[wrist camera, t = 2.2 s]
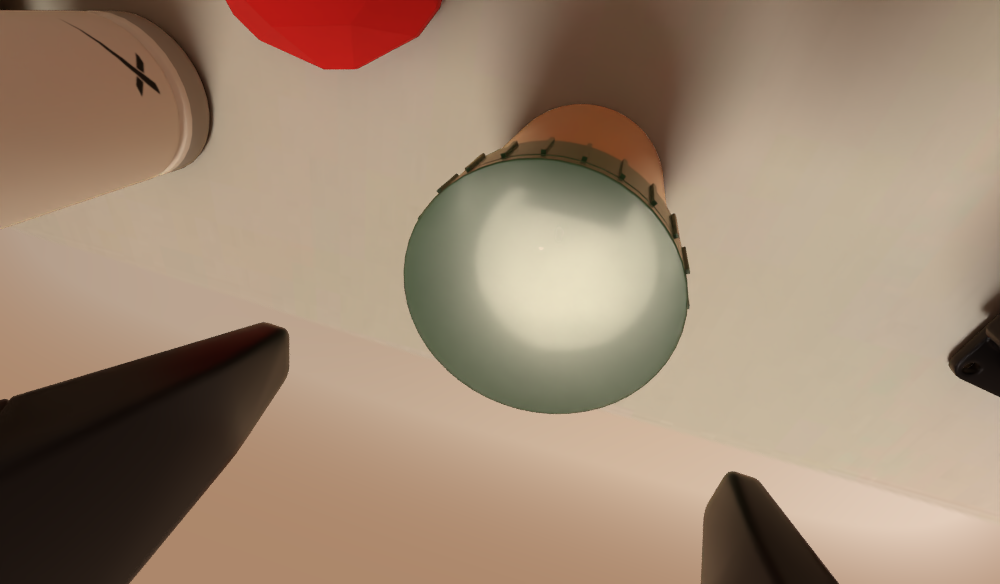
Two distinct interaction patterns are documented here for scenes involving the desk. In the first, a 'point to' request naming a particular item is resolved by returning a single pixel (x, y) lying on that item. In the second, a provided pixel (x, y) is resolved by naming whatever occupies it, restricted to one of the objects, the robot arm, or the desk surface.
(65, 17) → the travel mug
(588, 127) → the jam jar
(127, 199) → the desk surface
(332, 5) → the gemstone
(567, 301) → the jam lid
